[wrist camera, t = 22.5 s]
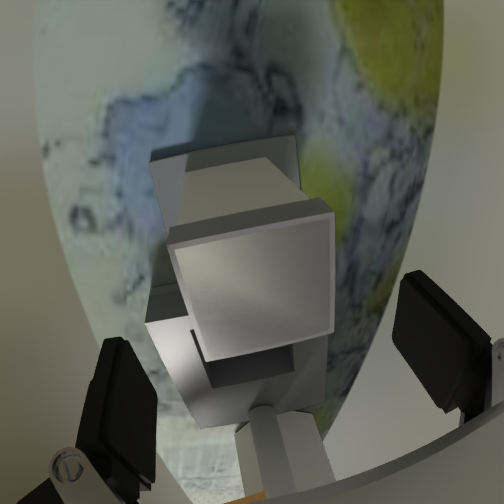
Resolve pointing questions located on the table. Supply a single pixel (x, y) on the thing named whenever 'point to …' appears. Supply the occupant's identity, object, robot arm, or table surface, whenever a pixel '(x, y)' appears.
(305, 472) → the milk carton
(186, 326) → the socket
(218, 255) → the plug
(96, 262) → the table surface
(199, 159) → the mat
